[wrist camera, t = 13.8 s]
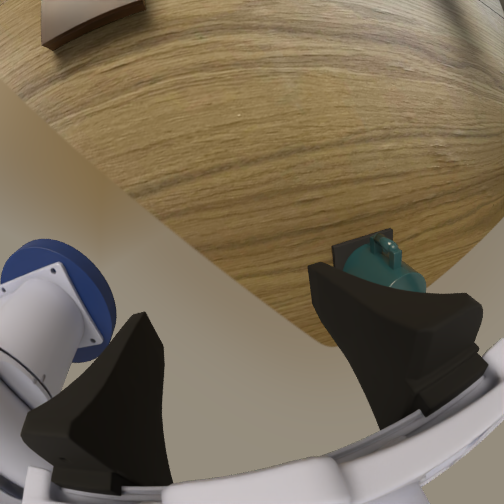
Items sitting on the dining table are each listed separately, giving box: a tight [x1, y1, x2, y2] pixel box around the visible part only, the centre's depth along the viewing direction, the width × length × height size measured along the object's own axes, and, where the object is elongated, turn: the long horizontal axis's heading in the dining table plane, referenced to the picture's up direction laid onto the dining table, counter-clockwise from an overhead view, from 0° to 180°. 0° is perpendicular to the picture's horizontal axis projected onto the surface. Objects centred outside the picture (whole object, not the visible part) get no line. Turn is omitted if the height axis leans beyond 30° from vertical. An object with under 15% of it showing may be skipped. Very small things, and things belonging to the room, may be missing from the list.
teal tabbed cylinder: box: [343, 233, 426, 293], centre depth 22 cm, size 5×8×6 cm
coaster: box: [332, 228, 393, 271], centre depth 25 cm, size 6×6×1 cm
